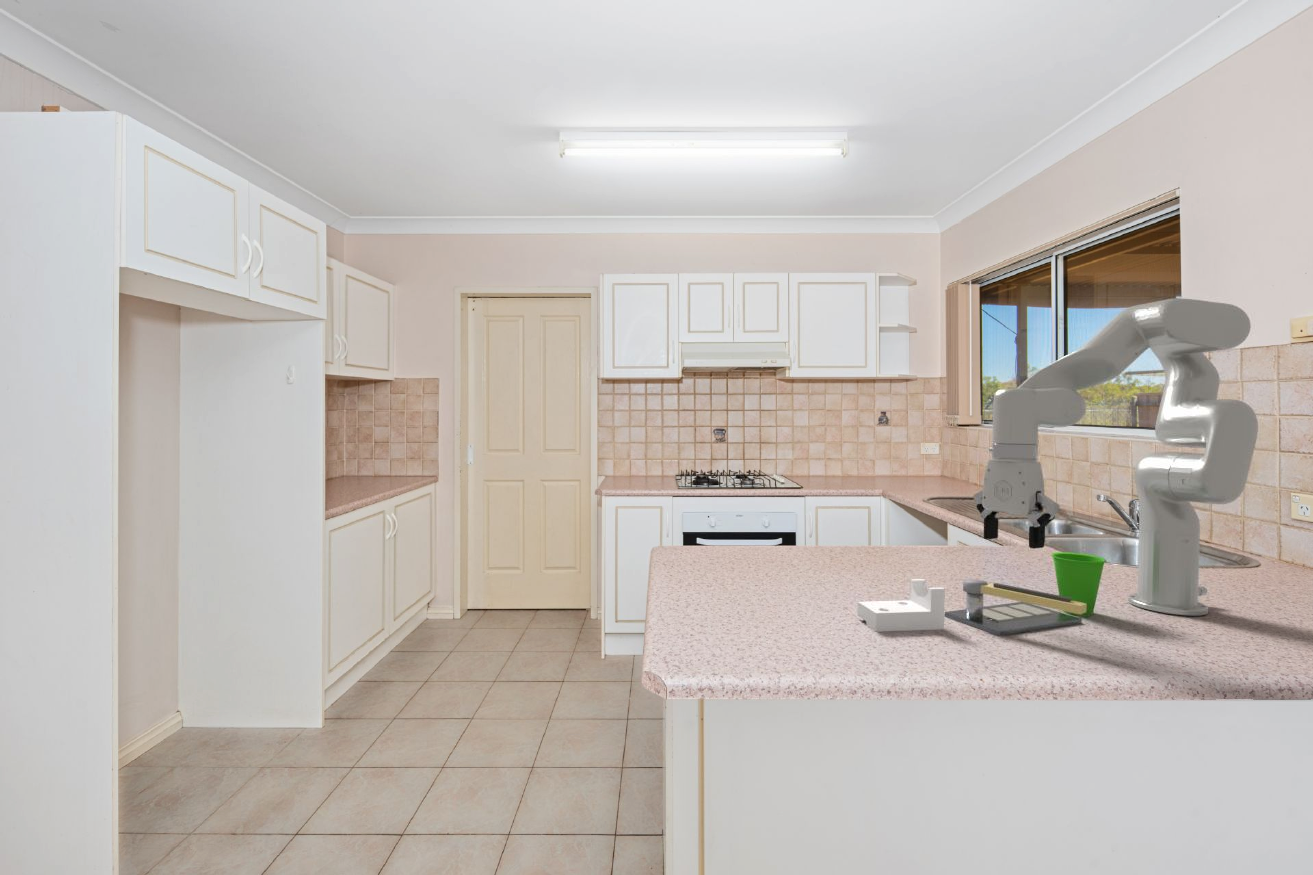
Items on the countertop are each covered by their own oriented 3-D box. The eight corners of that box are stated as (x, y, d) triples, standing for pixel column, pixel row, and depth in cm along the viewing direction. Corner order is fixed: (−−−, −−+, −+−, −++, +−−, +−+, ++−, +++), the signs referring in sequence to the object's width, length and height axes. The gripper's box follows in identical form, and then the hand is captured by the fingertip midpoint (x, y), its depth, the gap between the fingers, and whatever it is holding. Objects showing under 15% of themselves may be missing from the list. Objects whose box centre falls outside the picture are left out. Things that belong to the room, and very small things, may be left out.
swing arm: (958, 590, 116) (959, 578, 116) (969, 587, 118) (969, 575, 118) (1079, 616, 100) (1079, 603, 100) (1088, 612, 103) (1088, 599, 103)
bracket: (922, 618, 119) (922, 579, 119) (943, 630, 112) (944, 588, 112) (857, 620, 117) (858, 580, 117) (875, 633, 110) (876, 590, 110)
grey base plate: (1022, 605, 127) (1023, 578, 127) (1081, 623, 116) (1082, 593, 116) (944, 616, 120) (945, 587, 119) (999, 636, 108) (1000, 604, 108)
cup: (1114, 620, 118) (1116, 563, 117) (1061, 617, 119) (1062, 560, 119) (1091, 607, 126) (1092, 553, 126) (1042, 604, 128) (1043, 551, 128)
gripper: (962, 451, 125) (960, 536, 126) (1043, 456, 109) (1041, 553, 109) (989, 451, 128) (988, 534, 128) (1073, 455, 112) (1070, 550, 112)
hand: (1012, 543), depth 119 cm, fingers open, 9 cm apart
